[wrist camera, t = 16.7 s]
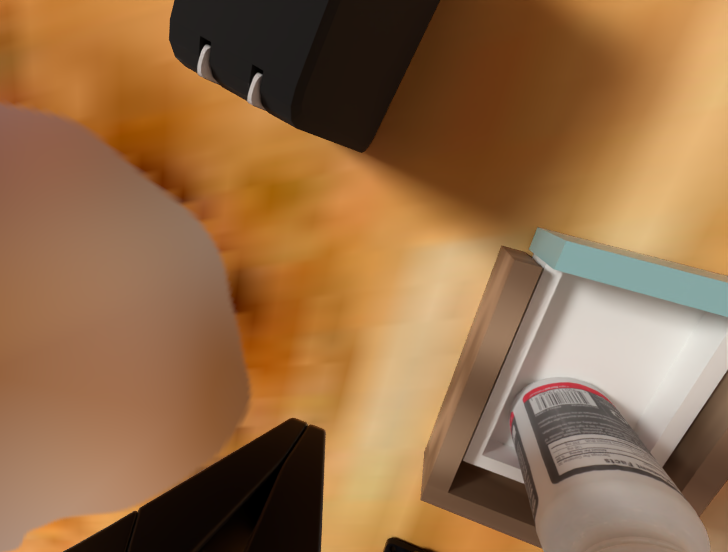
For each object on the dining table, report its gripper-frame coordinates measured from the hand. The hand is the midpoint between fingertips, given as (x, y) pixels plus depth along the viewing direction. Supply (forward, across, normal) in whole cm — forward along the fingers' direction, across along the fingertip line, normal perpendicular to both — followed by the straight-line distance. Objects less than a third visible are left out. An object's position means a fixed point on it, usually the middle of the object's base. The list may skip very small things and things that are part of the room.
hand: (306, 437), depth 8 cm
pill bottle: (+12, -11, +4) cm, 17 cm away
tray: (+13, -11, +1) cm, 17 cm away
